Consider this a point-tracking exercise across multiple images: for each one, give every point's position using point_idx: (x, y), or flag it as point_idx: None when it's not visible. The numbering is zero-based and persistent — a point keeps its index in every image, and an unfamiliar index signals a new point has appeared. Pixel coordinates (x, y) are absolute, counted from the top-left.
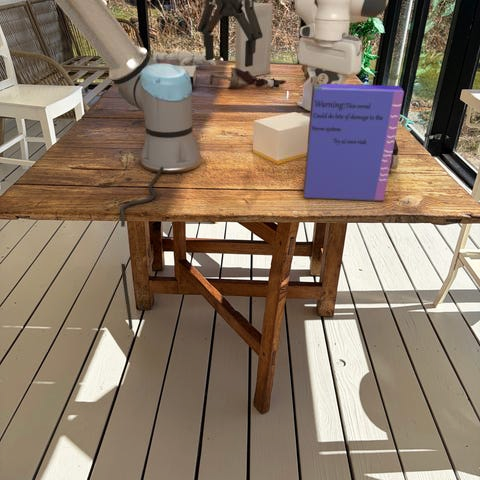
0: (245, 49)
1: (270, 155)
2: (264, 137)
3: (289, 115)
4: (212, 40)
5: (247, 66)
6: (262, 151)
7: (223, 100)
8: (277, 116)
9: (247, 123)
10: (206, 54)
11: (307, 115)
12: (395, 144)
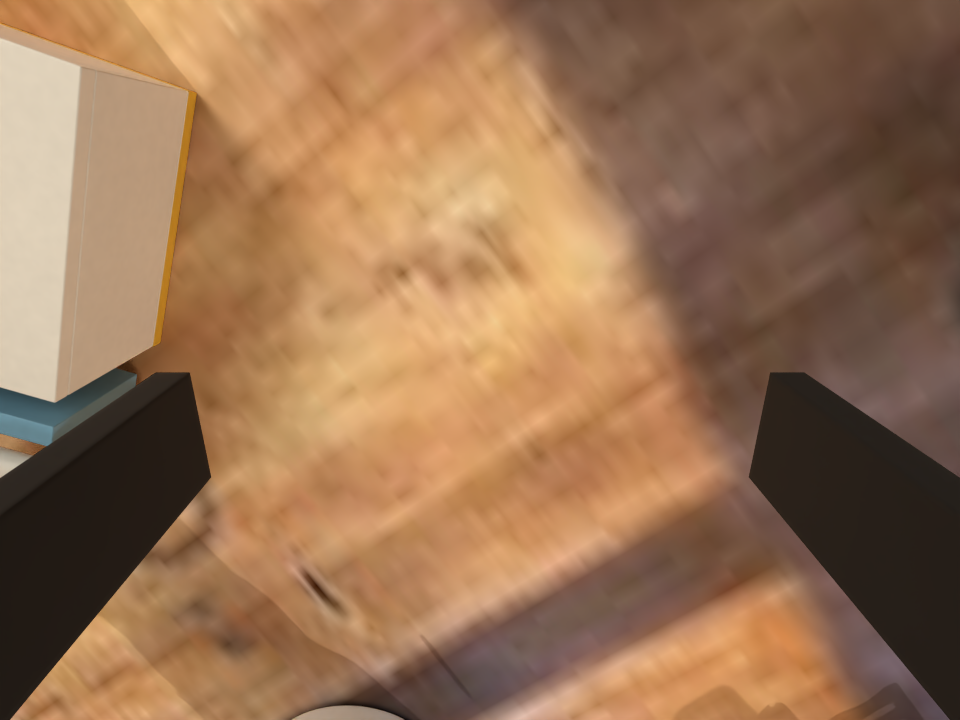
0: (34, 483)
1: (22, 32)
2: (15, 36)
3: (16, 321)
4: (913, 644)
5: (155, 380)
6: (94, 58)
7: (783, 641)
8: (46, 255)
9: (491, 439)
10: (833, 404)
11: (14, 432)
12: None
